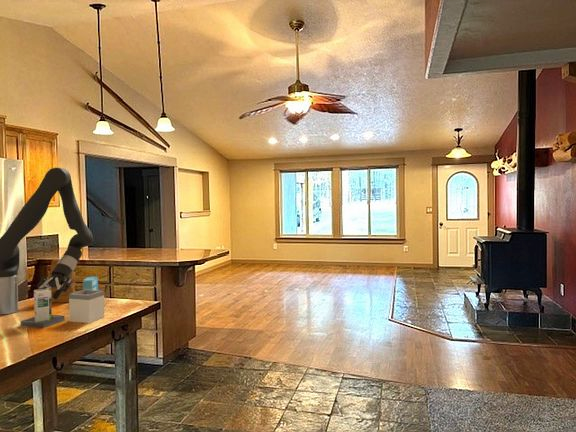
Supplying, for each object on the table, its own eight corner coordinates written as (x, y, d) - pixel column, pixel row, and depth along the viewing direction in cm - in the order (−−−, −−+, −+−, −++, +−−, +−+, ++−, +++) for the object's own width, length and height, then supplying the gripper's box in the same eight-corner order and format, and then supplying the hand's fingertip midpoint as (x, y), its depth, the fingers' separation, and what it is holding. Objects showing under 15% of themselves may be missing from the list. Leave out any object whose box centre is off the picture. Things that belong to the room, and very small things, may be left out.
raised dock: (69, 321, 185) (69, 294, 185) (85, 315, 195) (85, 289, 195) (89, 323, 183) (88, 295, 183) (104, 316, 193) (104, 290, 192)
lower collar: (20, 325, 178) (20, 321, 178) (42, 318, 190) (42, 314, 189) (43, 327, 176) (43, 323, 176) (64, 320, 187) (64, 315, 187)
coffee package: (53, 299, 227) (52, 258, 226) (78, 298, 229) (77, 257, 228) (45, 303, 217) (45, 260, 216) (71, 302, 219) (71, 260, 218)
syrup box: (36, 325, 178) (36, 291, 178) (34, 322, 183) (33, 289, 183) (52, 323, 182) (51, 289, 182) (49, 320, 187) (48, 287, 186)
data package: (92, 303, 218) (92, 280, 217) (82, 303, 217) (82, 280, 217) (98, 298, 230) (98, 276, 229) (89, 298, 229) (89, 276, 228)
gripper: (47, 262, 193) (26, 292, 183) (73, 263, 190) (54, 294, 179) (56, 271, 199) (36, 301, 188) (82, 273, 195) (64, 303, 185)
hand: (45, 298), depth 184 cm, fingers open, 8 cm apart
